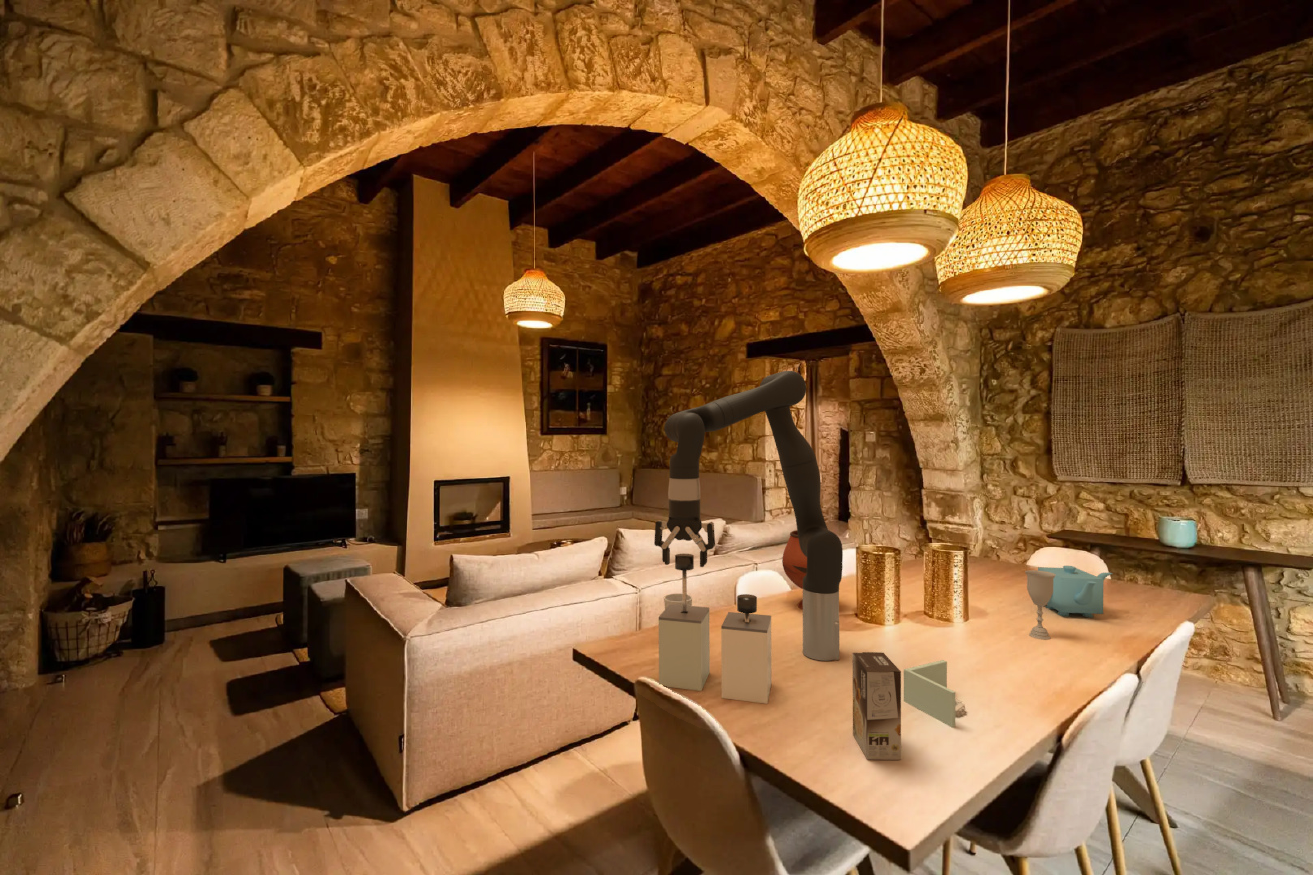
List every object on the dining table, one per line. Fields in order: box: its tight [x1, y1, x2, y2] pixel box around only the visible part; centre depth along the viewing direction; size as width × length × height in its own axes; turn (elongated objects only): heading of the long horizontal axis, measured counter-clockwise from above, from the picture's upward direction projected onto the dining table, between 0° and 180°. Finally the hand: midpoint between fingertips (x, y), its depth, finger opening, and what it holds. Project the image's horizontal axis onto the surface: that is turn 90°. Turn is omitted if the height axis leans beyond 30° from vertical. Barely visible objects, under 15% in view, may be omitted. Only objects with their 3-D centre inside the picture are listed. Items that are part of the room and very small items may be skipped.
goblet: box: [781, 529, 807, 611], centre depth 188 cm, size 19×19×25 cm
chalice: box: [1024, 569, 1056, 641], centre depth 161 cm, size 7×7×18 cm
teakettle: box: [1037, 565, 1113, 618], centre depth 182 cm, size 19×19×15 cm
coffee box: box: [851, 651, 902, 761], centre depth 106 cm, size 9×6×16 cm
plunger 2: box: [736, 593, 758, 622], centre depth 129 cm, size 8×8×19 cm
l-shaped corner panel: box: [903, 659, 966, 728], centre depth 121 cm, size 12×12×8 cm
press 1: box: [658, 604, 711, 692], centre depth 135 cm, size 10×10×16 cm
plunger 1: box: [674, 553, 695, 614], centre depth 135 cm, size 8×8×19 cm
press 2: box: [720, 611, 772, 705], centre depth 129 cm, size 10×10×16 cm
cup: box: [663, 592, 693, 610], centre depth 160 cm, size 8×8×12 cm
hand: (684, 565), depth 135 cm, fingers open, 8 cm apart
